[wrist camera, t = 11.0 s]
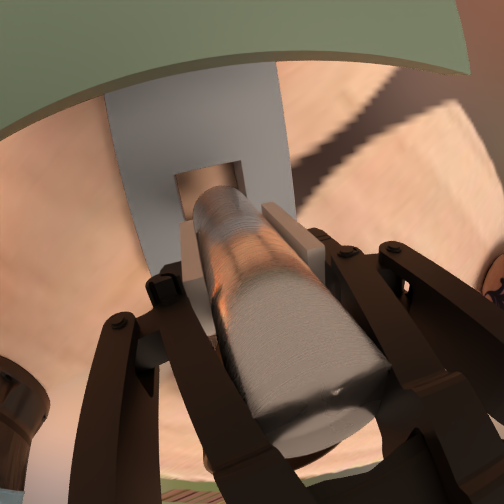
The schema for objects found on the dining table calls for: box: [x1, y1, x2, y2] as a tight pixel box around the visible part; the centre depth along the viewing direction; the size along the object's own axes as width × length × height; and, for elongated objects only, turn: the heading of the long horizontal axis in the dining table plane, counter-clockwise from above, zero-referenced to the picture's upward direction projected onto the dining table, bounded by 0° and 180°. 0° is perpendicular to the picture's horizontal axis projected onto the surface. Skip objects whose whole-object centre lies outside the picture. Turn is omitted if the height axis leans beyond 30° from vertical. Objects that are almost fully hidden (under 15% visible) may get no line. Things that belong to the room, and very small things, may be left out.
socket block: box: [104, 61, 297, 277], centre depth 25 cm, size 18×14×4 cm
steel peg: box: [193, 186, 392, 458], centre depth 13 cm, size 4×4×16 cm
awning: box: [0, 0, 471, 141], centre depth 13 cm, size 7×18×21 cm, turn 99°
